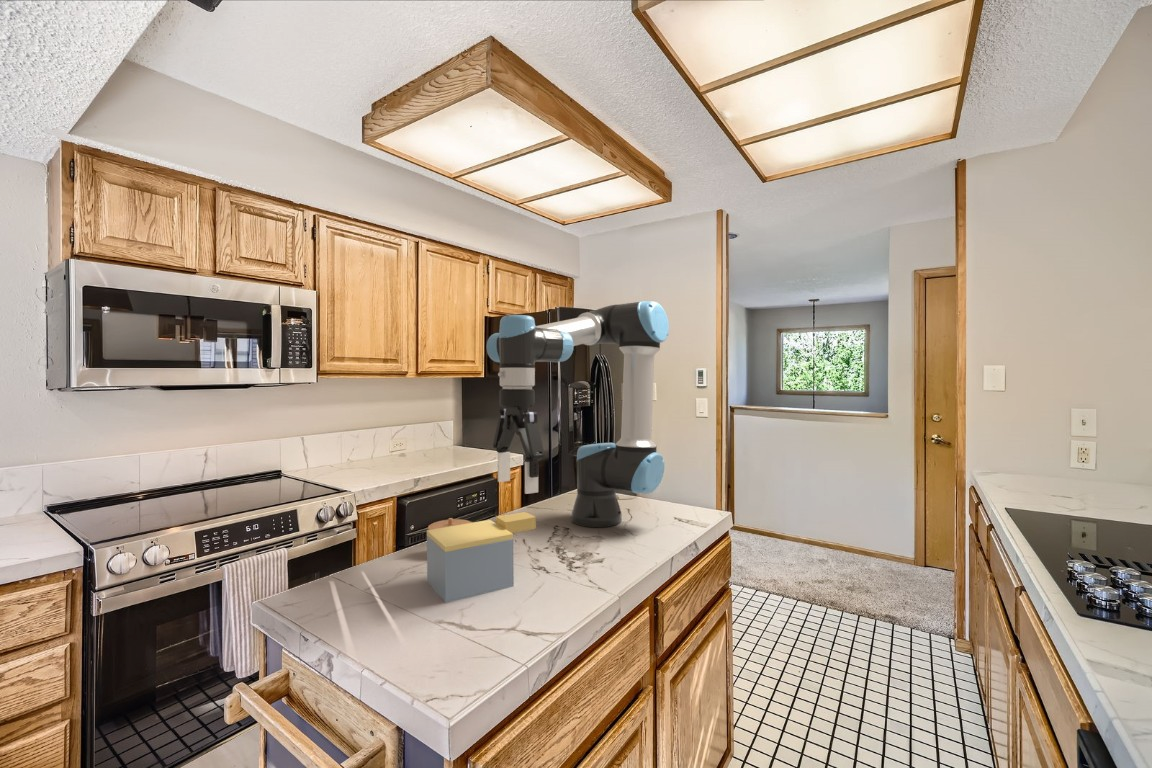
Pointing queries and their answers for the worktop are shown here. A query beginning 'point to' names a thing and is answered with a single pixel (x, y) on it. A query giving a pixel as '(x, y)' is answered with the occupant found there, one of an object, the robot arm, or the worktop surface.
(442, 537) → the lid
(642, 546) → the worktop surface
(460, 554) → the tub
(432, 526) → the lidded jar
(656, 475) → the robot arm
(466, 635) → the worktop surface
